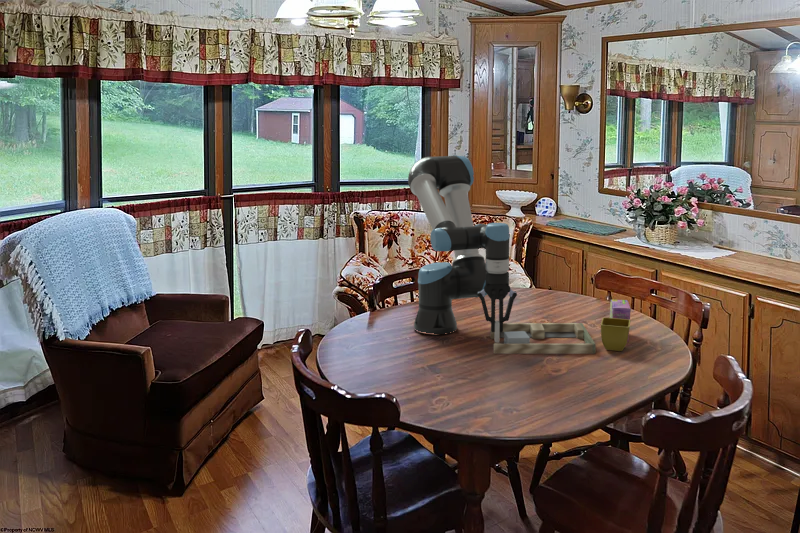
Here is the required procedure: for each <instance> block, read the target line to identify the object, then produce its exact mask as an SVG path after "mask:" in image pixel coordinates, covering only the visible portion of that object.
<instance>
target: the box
mask: <svg viewBox="0 0 800 533" xmlns="http://www.w3.org/2000/svg"><path fill="white" fill-rule="evenodd" d="M609 304H610V307H609V318H617V319H628V320H631V306H630V303H629V300H627V299H610V303H609ZM629 337H630V333H629V334H628V340H627V343H629V339H630V338H629Z"/></svg>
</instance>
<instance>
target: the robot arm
mask: <svg viewBox="0 0 800 533" xmlns="http://www.w3.org/2000/svg"><path fill="white" fill-rule="evenodd" d="M474 173H475V172H474V167H473V165H472V162H471V161H470V159H469V158H467V157H466V156H465V155H456V154H454V155H445V156H444V155H443V156H442V155H441V156H439V155H438V156H426V157H422V158H420V159H418V160H417V161H416V162H414V164H413V165H412V166H411V168H410V170H409V174H408V178H407V183H408V186H409V189H410V191H411V193H412V194H413V195H414V196H416V197H417V199H418V201H419V204H420V206H421V208H422V210H423V213H424V214H425V217H426V220H427V221H428V223H429V225H430V227H431V229H432V230H431V232H430V238H429V239H430V244H431V249H432V250H433V251H434V252H452V251H453V252H454V259H453V261H452V263H450V262H445V261H442V262H439V261H438V262H431V263H428V264H425V265H423V266H422V267H421V268H420V269H419V271H418V278H417V284H418V310H417V314H416V316H415V320H414V324H413V327H414V328H415V329H416V330H418V331H421V332H426V333H434V334H445V333H450V332H453V331H455V330H456V329H458V324H457V320H456V317H455V314H454V311H453V305H452V304H453V303H452V302H453V300H460V299H471V298H473V299H474V298H475V299H476V298H477V299H478V298H479V300H480V303H481V305H482V309H483V310H482V311H483V314H484V318H485V321H486V322H490V332H491V331H492V332H494V339H493V341H494V344H500V339H499V333H500V332H503V323H505V322H508V321H509V320H510V316H511V313H512V308H513V305H514V301H515V299H516V298H517V297H518V293H517V291H516V290H515V291H514V290H513V289H511V286H510V272H509V270H510V237H511V234H510V226H509V224H508V223H505V222H489V223H487V224H485V223H478V224H475V225H474V222H473V215H472V211H471V210H472V209H471V204H470V201H469V195H468V193H469V192H470V190H471V186H472V185H473V184H474V181H475V178H474V175H475V174H474ZM443 198H444V200H443ZM479 249H484V250H485V257H484V256H483V255H481V254H480V251H479ZM508 295H509V299H508V302H507V306H506V310H505V314H504V299H505V298H506V297H507V296H508ZM486 296H488V298H489V299H490V316H489V311H488V307H487V302H486V299H485V297H486ZM496 300H498V320H496ZM414 328H413V329H414ZM456 331H457V330H456ZM456 331H455V332H456ZM453 333H454V332H453ZM450 334H451V333H450Z"/></svg>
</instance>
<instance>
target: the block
mask: <svg viewBox="0 0 800 533" xmlns="http://www.w3.org/2000/svg"><path fill="white" fill-rule="evenodd" d="M530 339H531V338H530V337H529V336H528V335H527V333H526V332H525V331H513V332H504V338H503V344H531V343H530V342H531V340H530Z"/></svg>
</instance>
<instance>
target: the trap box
mask: <svg viewBox="0 0 800 533" xmlns="http://www.w3.org/2000/svg"><path fill="white" fill-rule="evenodd" d="M513 331H525V332H526V333H527V335H528V336H529V337H530V339H534V340H535V339H536V340H539V339H540V340H542V339H543V340H544V339H547V338H548V339H553V338H554V339H559V338H560V339H562V338H563V339H564V338H566V339H567V338H568V339H570V338H572V339H575V338H576V339H577V340H579V339H582V340H583V341H584V342H585V343H530V344H504V343H493V354H494V355H495V354H496V355H497V354H498V355H499V354H501V355H502V354H504V355H505V354H510V355H511V354H512V355H513V354H528V355H529V354H542V355H543V354H546V355H547V354H555V355H556V354H557V355H559V354H560V355H561V354H563V355H565V354H571V355H572V354H574V355H575V354H576V355H577V354H580V355H581V354H582V355H584V354H585V355H586V354H587V355H588V354H596V350H597V349H596V348H597V345H596V343H595V341H594V340H593V338H592V337H591V335H590V333H589V331H588V330H587V328H586V327H585V325H584V323H583V322H579V323H577V322H574V323H573V322H560V323H559V322H558V323H557V322H556V323H555V322H553V323H551V322H549V323H548V322H546V323H545V322H543V323H542V322H540V323H539V322H536V323H535V322H531V323H530V322H528V323H527V322H526V323H525V322H520V323H518V322H516V323H515V322H512V323H511V322H509V323H508V322H507V323H505V322H503V332H500V333H499V340H500V339H504V332H513ZM490 339H491V340H492V339H493V340H494V332H492V331H491V330H490Z"/></svg>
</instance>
